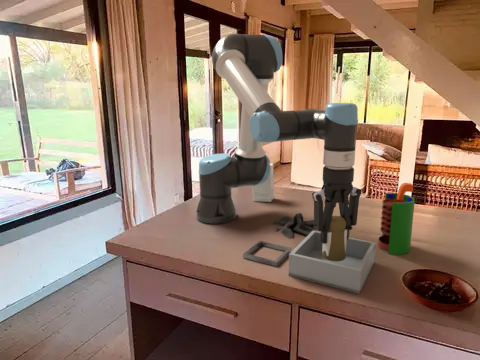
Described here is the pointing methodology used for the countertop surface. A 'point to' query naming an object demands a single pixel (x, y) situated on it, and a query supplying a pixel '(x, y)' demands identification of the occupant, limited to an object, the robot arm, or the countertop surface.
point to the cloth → (294, 225)
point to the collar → (264, 260)
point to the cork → (336, 240)
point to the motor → (397, 221)
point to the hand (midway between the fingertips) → (333, 252)
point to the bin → (333, 263)
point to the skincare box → (265, 189)
